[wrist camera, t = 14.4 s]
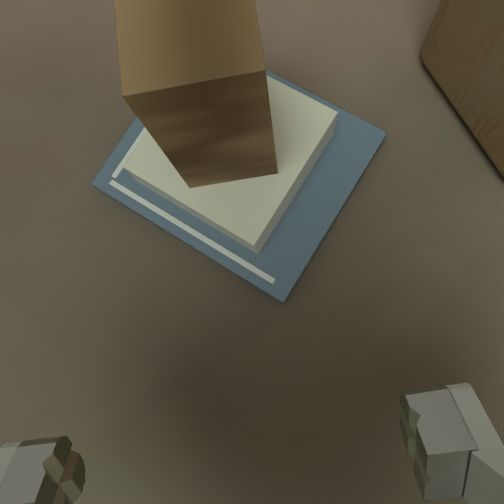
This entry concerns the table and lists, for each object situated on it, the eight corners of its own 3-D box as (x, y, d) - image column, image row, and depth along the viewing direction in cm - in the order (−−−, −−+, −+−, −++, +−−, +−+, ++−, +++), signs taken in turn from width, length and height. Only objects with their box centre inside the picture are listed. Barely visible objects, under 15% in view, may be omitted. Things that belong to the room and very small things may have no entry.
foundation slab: (139, 183, 26) (123, 167, 23) (215, 70, 27) (206, 44, 24) (258, 254, 24) (253, 245, 22) (333, 133, 25) (337, 111, 23)
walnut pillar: (189, 188, 23) (122, 96, 14) (180, 106, 24) (111, -28, 15) (277, 173, 23) (265, 70, 14) (265, 91, 23) (246, -56, 15)
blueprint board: (96, 188, 27) (89, 183, 26) (196, 41, 28) (193, 31, 27) (283, 303, 25) (283, 302, 24) (384, 138, 26) (387, 131, 25)
